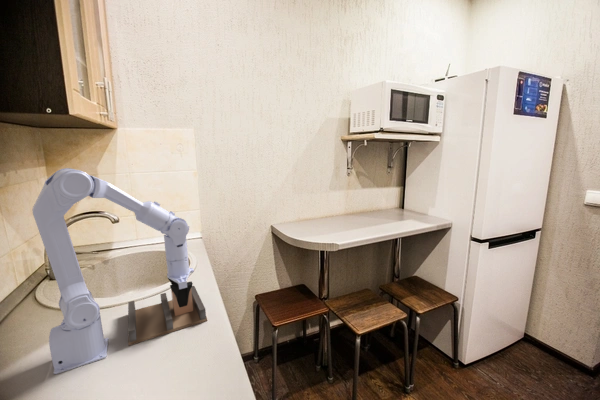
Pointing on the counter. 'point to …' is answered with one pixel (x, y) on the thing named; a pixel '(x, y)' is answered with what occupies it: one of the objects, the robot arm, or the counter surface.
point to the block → (182, 310)
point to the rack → (162, 318)
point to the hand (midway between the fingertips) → (181, 301)
